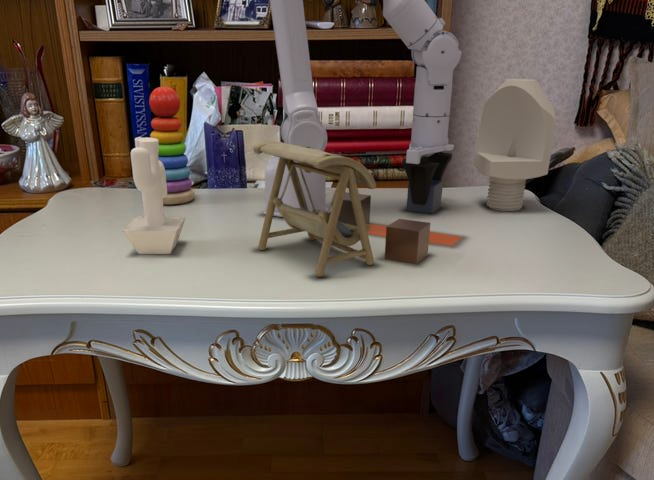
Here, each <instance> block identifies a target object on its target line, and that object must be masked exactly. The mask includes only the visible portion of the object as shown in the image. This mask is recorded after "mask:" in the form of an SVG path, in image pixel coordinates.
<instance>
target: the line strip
mask: <svg viewBox="0 0 654 480" xmlns="http://www.w3.org/2000/svg"><path fill="white" fill-rule="evenodd" d="M369 225H370V230H369V231H368V232H367V233H368V235H374V236H381V237H386V227H387V226H388V225H382V224H374V223H370V224H369ZM461 239H463V236H460V235H454V234H453V235H452V234H446V233H440V232H439V233H438V232H432V231H430V235H429V244H434V245H440V246H448V247H454V246H455V245H456V244H457V243H459V241H460V240H461Z"/></svg>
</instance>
